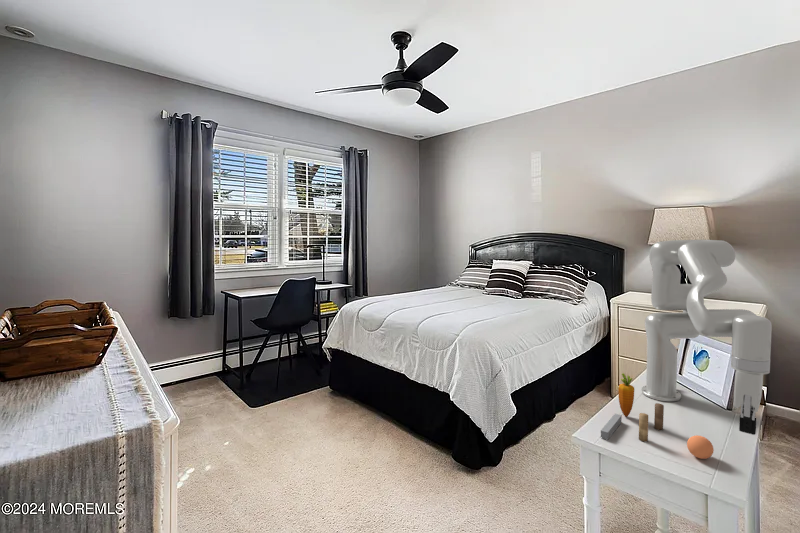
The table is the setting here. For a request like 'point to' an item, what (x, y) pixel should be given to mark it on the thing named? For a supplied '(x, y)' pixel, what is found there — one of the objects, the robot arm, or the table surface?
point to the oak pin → (643, 427)
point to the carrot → (626, 395)
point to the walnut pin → (658, 417)
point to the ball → (700, 447)
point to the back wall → (611, 426)
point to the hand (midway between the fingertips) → (747, 431)
